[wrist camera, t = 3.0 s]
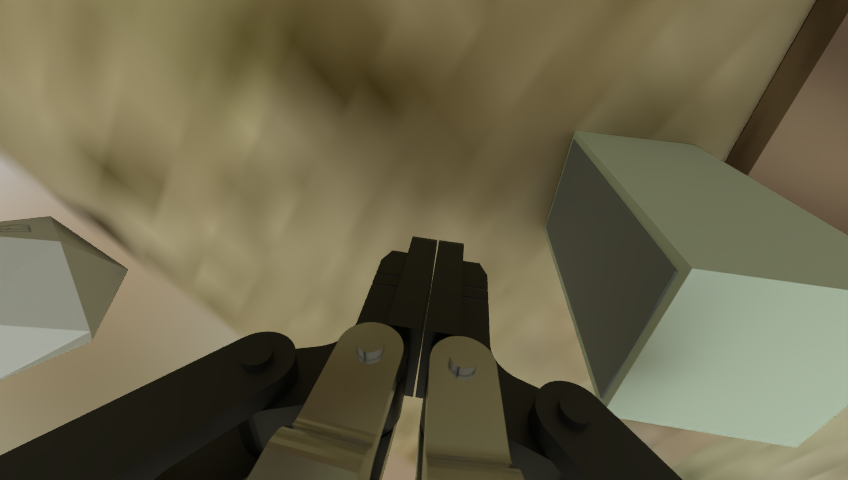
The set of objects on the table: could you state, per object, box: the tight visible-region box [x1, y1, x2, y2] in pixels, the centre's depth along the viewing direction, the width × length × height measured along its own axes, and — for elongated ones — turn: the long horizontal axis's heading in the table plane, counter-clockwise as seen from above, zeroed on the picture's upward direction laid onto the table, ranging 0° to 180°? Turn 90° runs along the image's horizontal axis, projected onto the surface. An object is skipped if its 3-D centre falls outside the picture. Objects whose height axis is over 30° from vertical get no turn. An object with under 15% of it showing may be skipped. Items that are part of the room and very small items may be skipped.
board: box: [725, 0, 848, 235], centre depth 15 cm, size 18×11×2 cm, turn 175°
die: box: [0, 216, 128, 380], centre depth 20 cm, size 8×9×10 cm
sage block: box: [544, 131, 848, 448], centre depth 12 cm, size 5×5×10 cm
